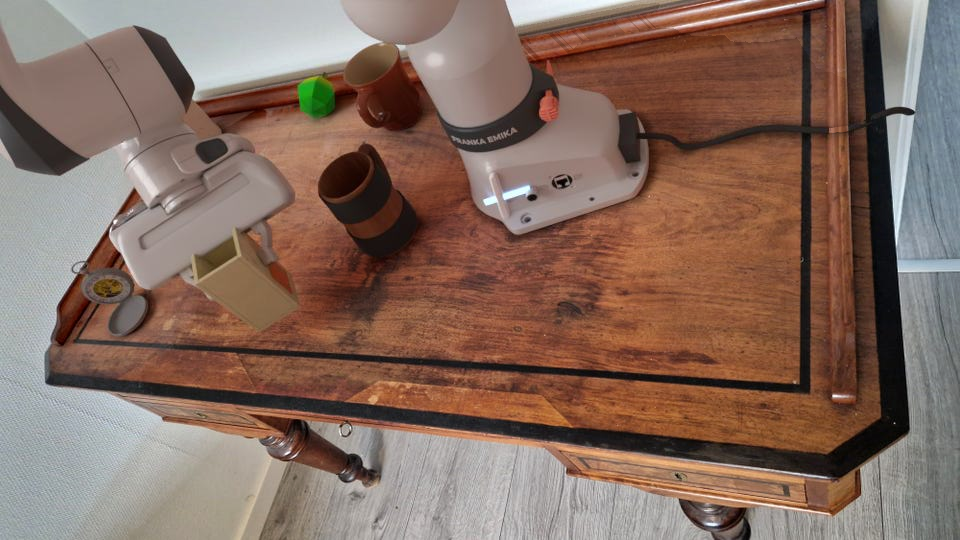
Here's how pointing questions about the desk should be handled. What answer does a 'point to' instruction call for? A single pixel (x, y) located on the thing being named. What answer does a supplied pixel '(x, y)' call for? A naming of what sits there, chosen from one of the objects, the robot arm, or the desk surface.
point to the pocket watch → (114, 297)
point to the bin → (246, 282)
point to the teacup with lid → (200, 122)
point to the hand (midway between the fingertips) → (246, 280)
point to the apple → (316, 96)
